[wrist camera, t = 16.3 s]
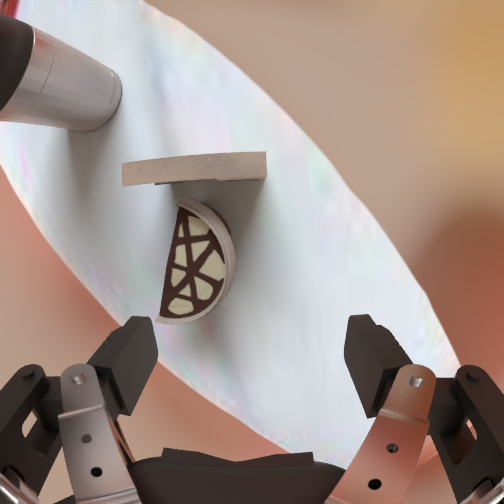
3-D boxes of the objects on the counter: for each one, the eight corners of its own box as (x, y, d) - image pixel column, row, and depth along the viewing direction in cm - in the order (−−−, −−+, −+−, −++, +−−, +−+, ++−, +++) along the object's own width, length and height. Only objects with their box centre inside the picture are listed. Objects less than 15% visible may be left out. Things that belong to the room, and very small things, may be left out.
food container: (227, 300, 35) (215, 344, 25) (180, 286, 35) (154, 325, 25) (254, 204, 32) (250, 217, 22) (202, 190, 32) (177, 197, 22)
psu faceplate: (170, 183, 31) (122, 189, 20) (169, 166, 31) (121, 163, 19) (264, 178, 31) (266, 180, 19) (264, 160, 30) (265, 151, 19)
